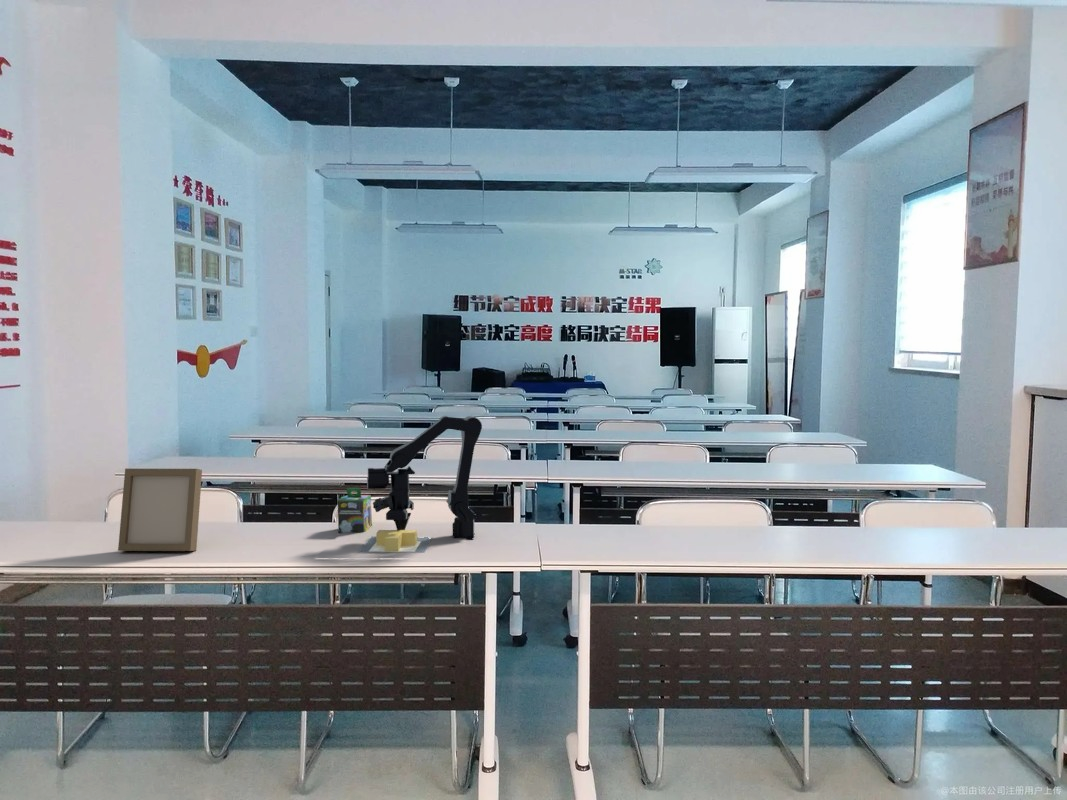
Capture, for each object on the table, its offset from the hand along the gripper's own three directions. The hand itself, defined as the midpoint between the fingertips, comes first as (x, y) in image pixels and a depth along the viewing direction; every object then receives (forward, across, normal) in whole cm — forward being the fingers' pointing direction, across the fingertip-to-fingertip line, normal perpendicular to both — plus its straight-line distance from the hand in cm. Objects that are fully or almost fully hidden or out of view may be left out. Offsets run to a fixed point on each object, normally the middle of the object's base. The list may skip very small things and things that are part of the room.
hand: (400, 536), depth 260 cm
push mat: (+1, +6, 0) cm, 6 cm away
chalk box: (+2, -16, -18) cm, 24 cm away
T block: (+1, +10, 0) cm, 10 cm away
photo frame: (+1, +8, -71) cm, 72 cm away
